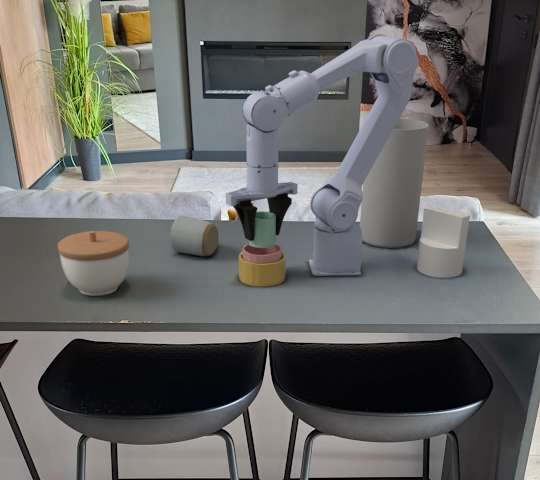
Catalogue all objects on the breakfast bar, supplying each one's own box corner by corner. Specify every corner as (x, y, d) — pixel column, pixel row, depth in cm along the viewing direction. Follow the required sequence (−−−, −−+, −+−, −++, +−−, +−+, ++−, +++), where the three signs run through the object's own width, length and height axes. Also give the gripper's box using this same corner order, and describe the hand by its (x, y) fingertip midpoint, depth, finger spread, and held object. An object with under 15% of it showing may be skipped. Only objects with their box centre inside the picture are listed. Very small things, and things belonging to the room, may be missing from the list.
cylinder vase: (382, 252, 151) (393, 132, 139) (347, 235, 160) (355, 121, 148) (427, 243, 156) (441, 126, 144) (391, 227, 166) (402, 116, 154)
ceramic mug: (205, 262, 145) (204, 225, 142) (170, 256, 148) (168, 220, 144) (227, 246, 154) (226, 212, 150) (193, 241, 156) (192, 207, 153)
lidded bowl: (59, 280, 136) (51, 225, 131) (125, 271, 140) (119, 217, 135) (69, 306, 126) (60, 247, 121) (139, 296, 130) (134, 238, 125)
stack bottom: (283, 268, 143) (283, 247, 140) (286, 286, 135) (287, 264, 133) (238, 269, 142) (238, 248, 140) (239, 287, 134) (239, 264, 132)
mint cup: (274, 238, 137) (274, 211, 135) (276, 247, 133) (276, 219, 130) (248, 239, 137) (248, 211, 134) (249, 248, 133) (248, 219, 130)
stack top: (279, 270, 142) (280, 241, 139) (282, 285, 135) (283, 255, 132) (242, 270, 142) (242, 241, 139) (243, 285, 135) (243, 255, 132)
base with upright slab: (408, 269, 143) (414, 211, 137) (431, 257, 149) (438, 201, 143) (447, 281, 137) (455, 221, 132) (470, 268, 143) (479, 211, 137)
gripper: (283, 154, 134) (282, 224, 141) (216, 164, 127) (218, 237, 134) (304, 162, 129) (302, 234, 136) (236, 173, 122) (237, 248, 129)
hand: (262, 236), depth 134 cm, fingers closed on mint cup, 5 cm apart
